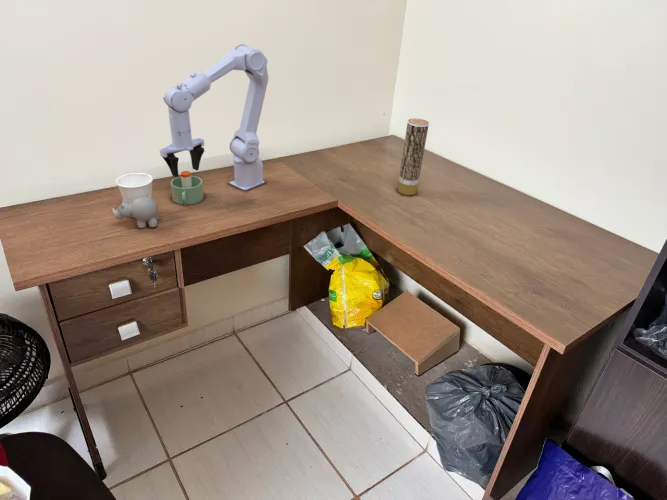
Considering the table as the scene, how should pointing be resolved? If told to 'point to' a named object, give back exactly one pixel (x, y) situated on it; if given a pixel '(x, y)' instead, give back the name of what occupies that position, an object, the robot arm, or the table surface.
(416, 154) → the paper tube
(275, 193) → the table surface
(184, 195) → the mug
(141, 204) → the chubby cartoon animal
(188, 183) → the glue stick
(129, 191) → the cup
